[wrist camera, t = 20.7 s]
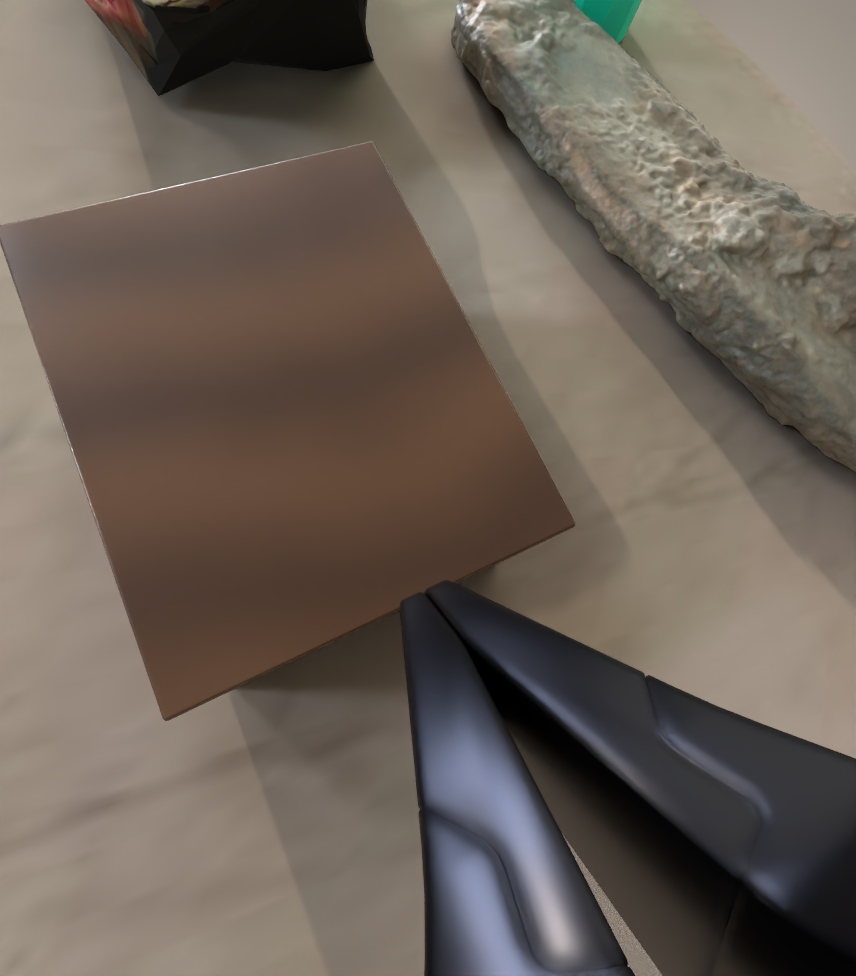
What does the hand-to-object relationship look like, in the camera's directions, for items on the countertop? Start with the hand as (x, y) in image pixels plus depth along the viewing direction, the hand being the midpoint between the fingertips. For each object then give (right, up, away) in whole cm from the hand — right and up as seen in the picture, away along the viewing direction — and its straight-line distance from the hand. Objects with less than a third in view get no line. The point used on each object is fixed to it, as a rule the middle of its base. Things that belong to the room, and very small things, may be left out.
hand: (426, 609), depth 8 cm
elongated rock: (+13, +16, +21) cm, 30 cm away
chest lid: (-4, +5, +7) cm, 10 cm away
